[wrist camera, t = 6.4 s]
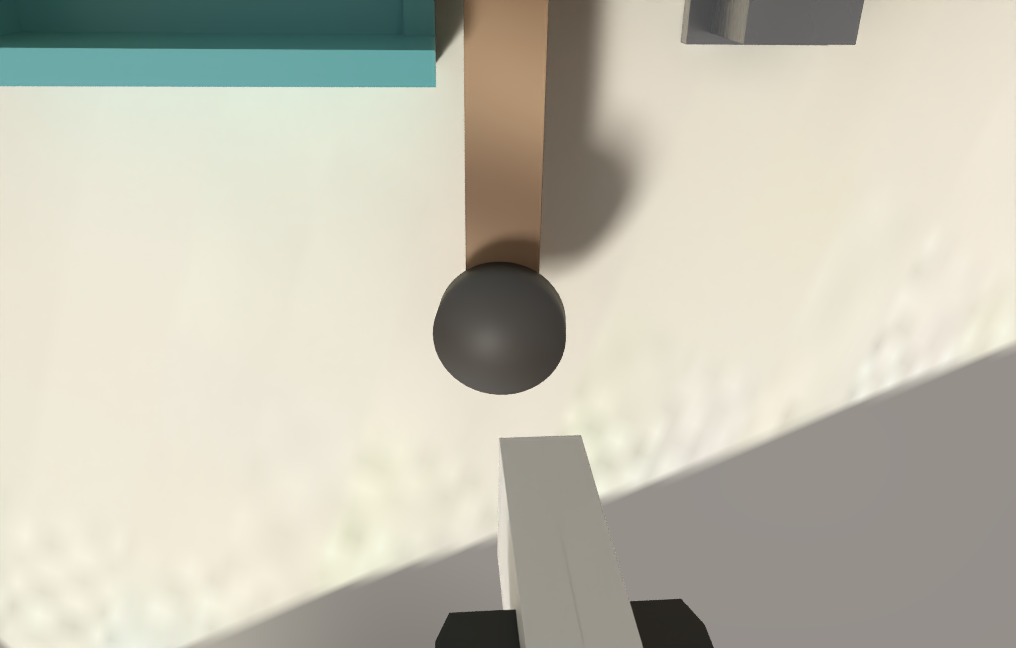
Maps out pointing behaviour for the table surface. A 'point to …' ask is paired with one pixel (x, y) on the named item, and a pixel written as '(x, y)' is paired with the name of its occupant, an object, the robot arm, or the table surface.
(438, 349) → the lever
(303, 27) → the tray
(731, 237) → the table surface
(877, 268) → the table surface
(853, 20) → the stand
